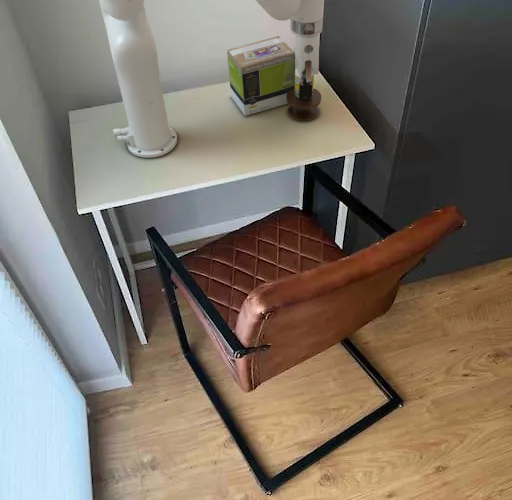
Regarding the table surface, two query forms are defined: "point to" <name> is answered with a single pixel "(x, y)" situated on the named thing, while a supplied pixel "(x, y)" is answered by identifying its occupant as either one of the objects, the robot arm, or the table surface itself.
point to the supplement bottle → (298, 80)
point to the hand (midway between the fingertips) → (303, 90)
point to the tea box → (261, 74)
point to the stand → (303, 106)
